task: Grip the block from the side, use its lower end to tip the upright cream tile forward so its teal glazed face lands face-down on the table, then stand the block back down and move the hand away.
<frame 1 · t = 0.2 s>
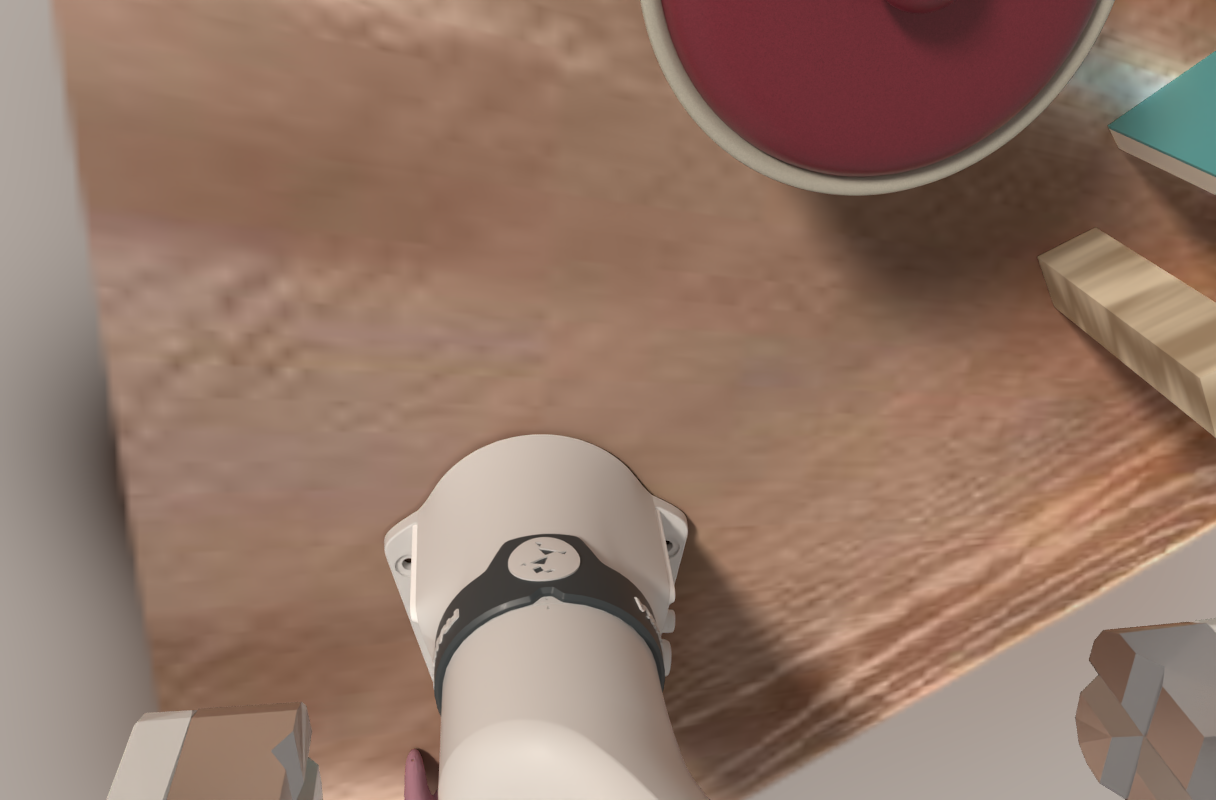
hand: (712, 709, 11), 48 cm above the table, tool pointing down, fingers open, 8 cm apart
block: (1074, 267, 63), on the table
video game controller: (477, 766, 77), on the table
tile: (1173, 80, 59), on the table
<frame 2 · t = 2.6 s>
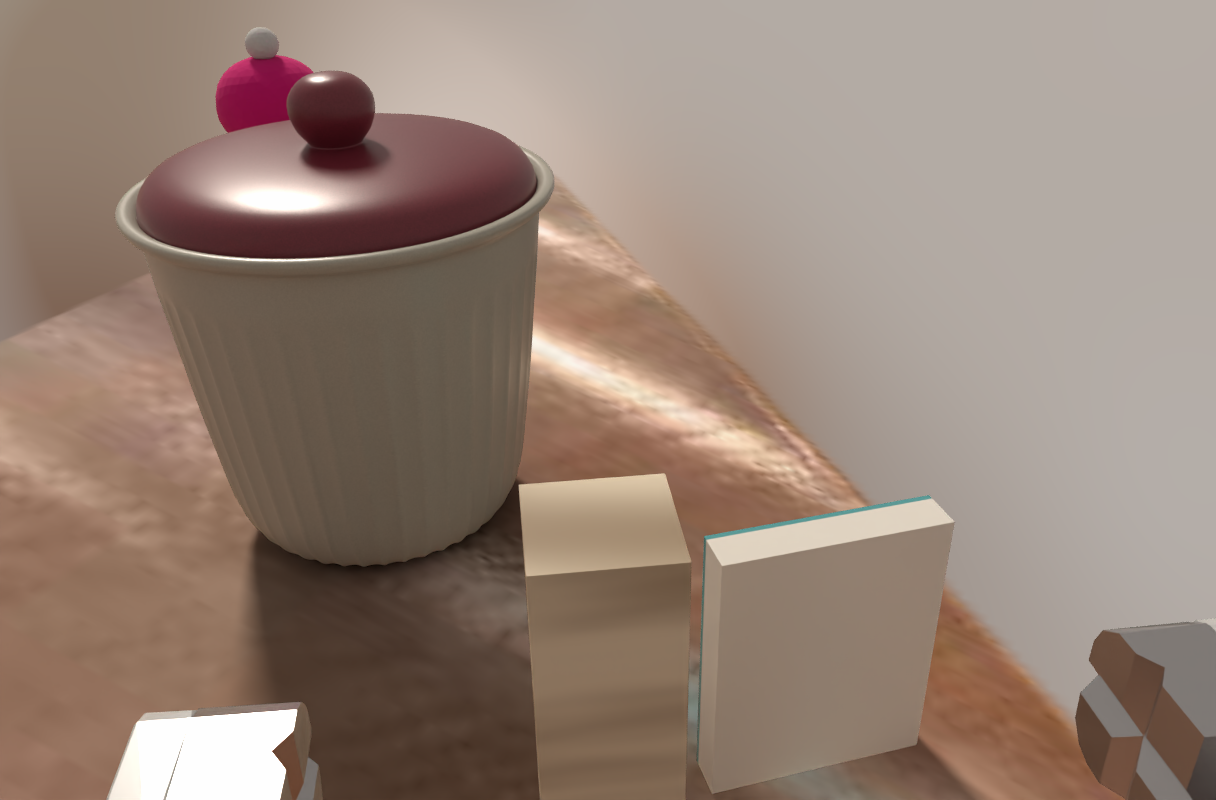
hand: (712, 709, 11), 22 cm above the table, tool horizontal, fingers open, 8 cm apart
canister: (386, 506, 54), on the table
tile: (798, 736, 40), on the table
pepper mill: (313, 357, 69), on the table
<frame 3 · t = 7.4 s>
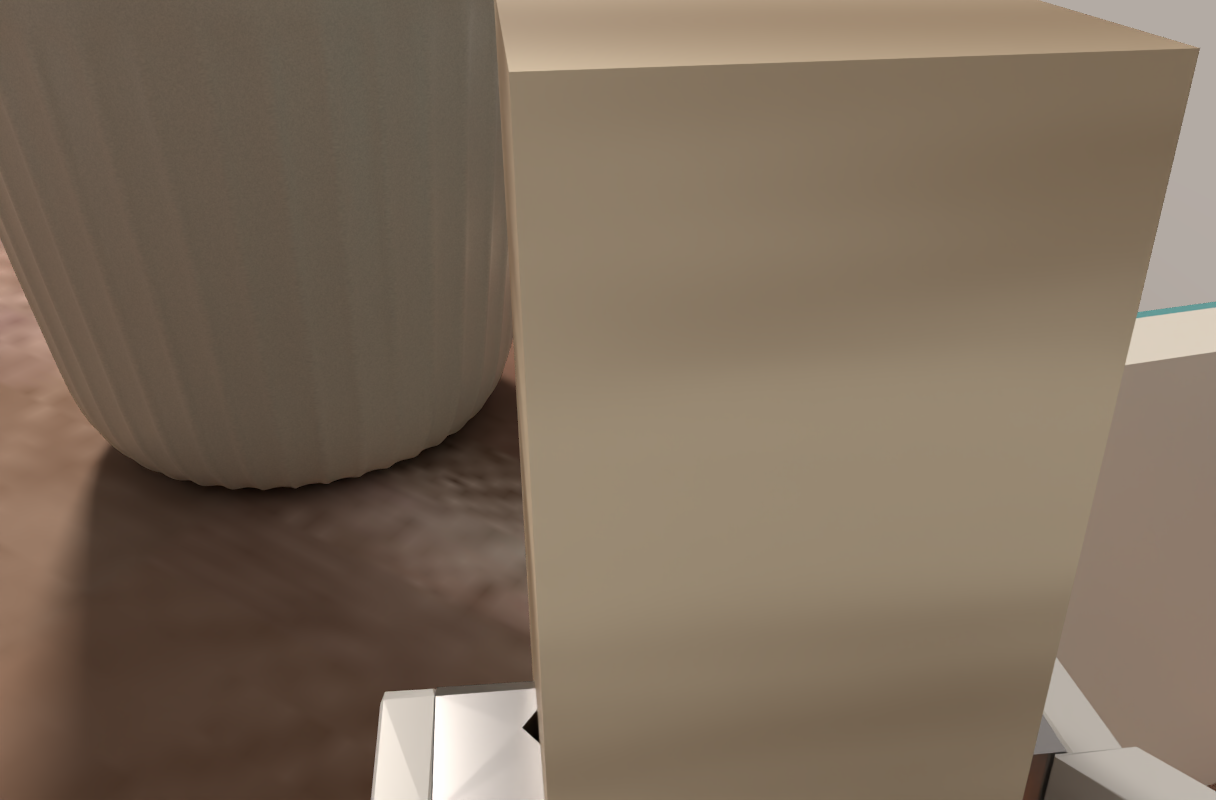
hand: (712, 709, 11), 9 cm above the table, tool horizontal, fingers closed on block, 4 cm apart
canister: (311, 413, 36), on the table
tile: (1009, 763, 22), on the table
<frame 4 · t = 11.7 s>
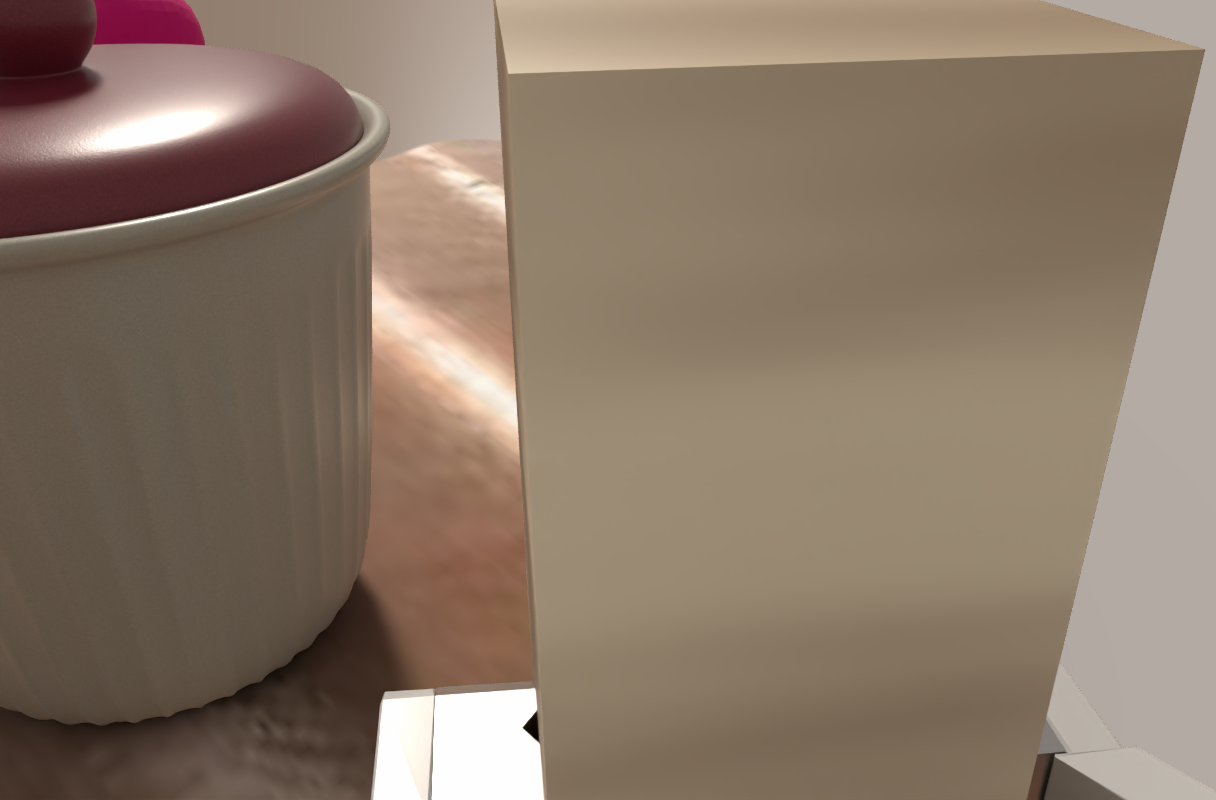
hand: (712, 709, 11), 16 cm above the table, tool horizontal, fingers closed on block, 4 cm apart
canister: (175, 616, 37), on the table
pepper mill: (201, 383, 53), on the table
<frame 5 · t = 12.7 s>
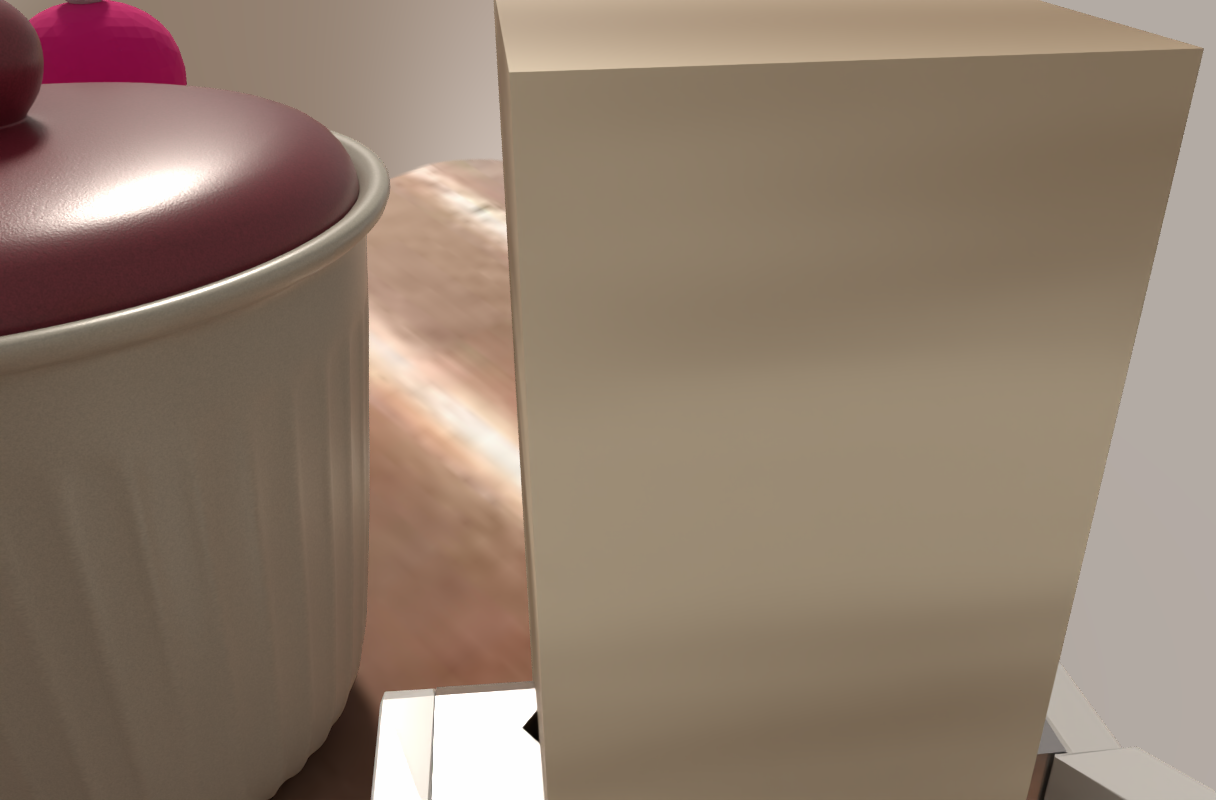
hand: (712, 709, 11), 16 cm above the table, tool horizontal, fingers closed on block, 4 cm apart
canister: (145, 729, 33), on the table
pepper mill: (183, 439, 49), on the table
when the fingers open (10 cm above the table, at t = 16.3 s): block stays where it is, on the table.
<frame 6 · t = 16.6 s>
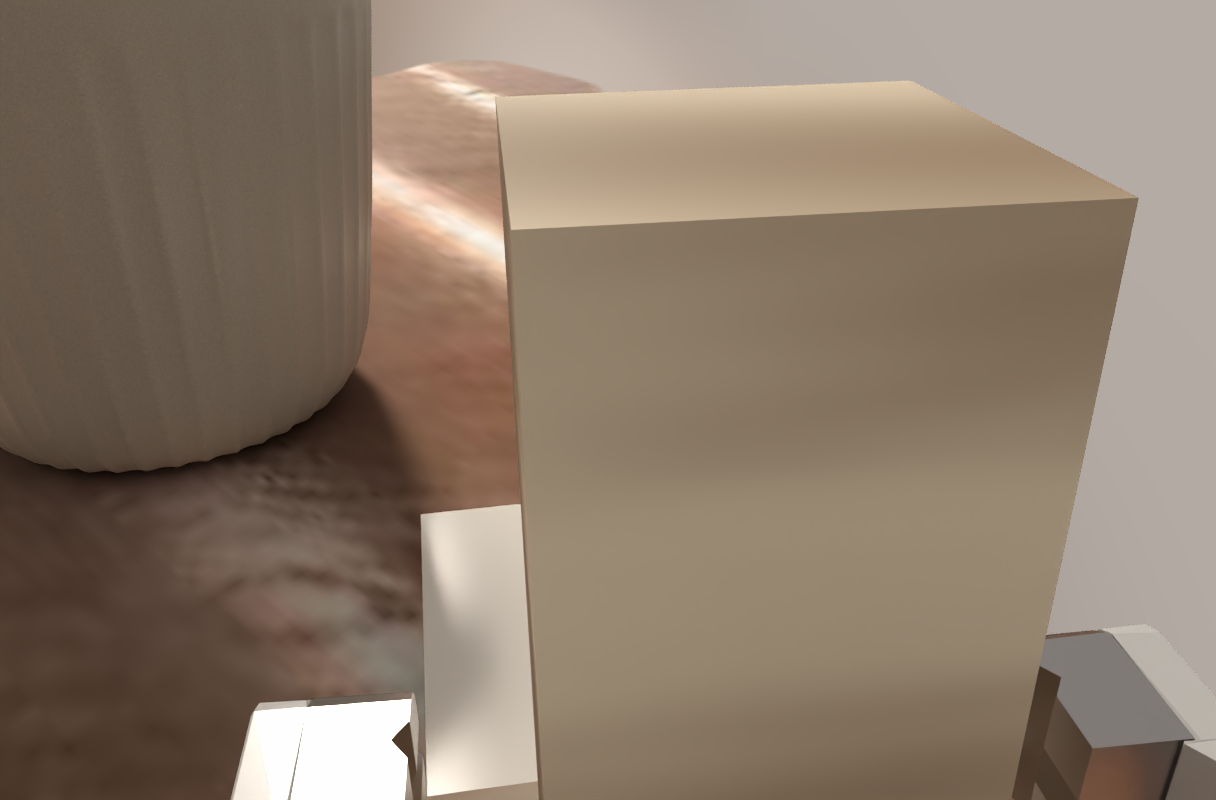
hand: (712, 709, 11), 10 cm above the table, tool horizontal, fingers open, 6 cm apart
canister: (182, 403, 39), on the table
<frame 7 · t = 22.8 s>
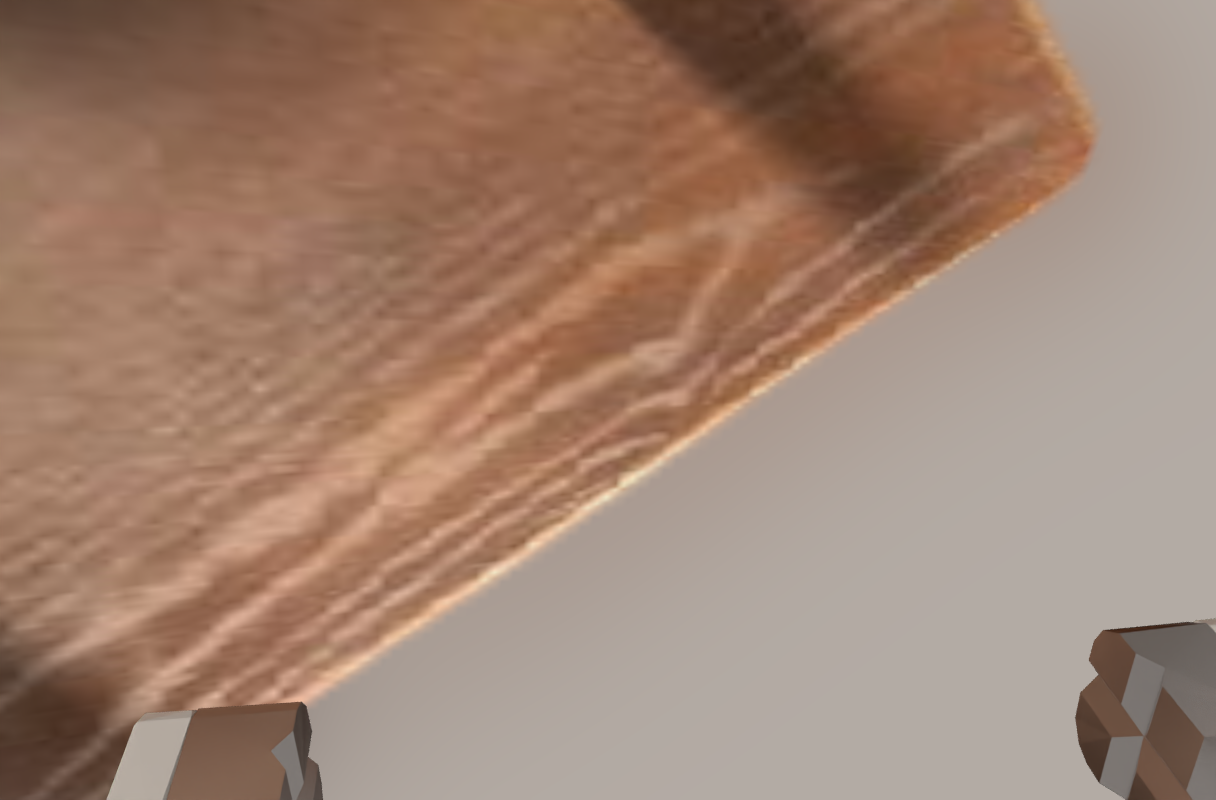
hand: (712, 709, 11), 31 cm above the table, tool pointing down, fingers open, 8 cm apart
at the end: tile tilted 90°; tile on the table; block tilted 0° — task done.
